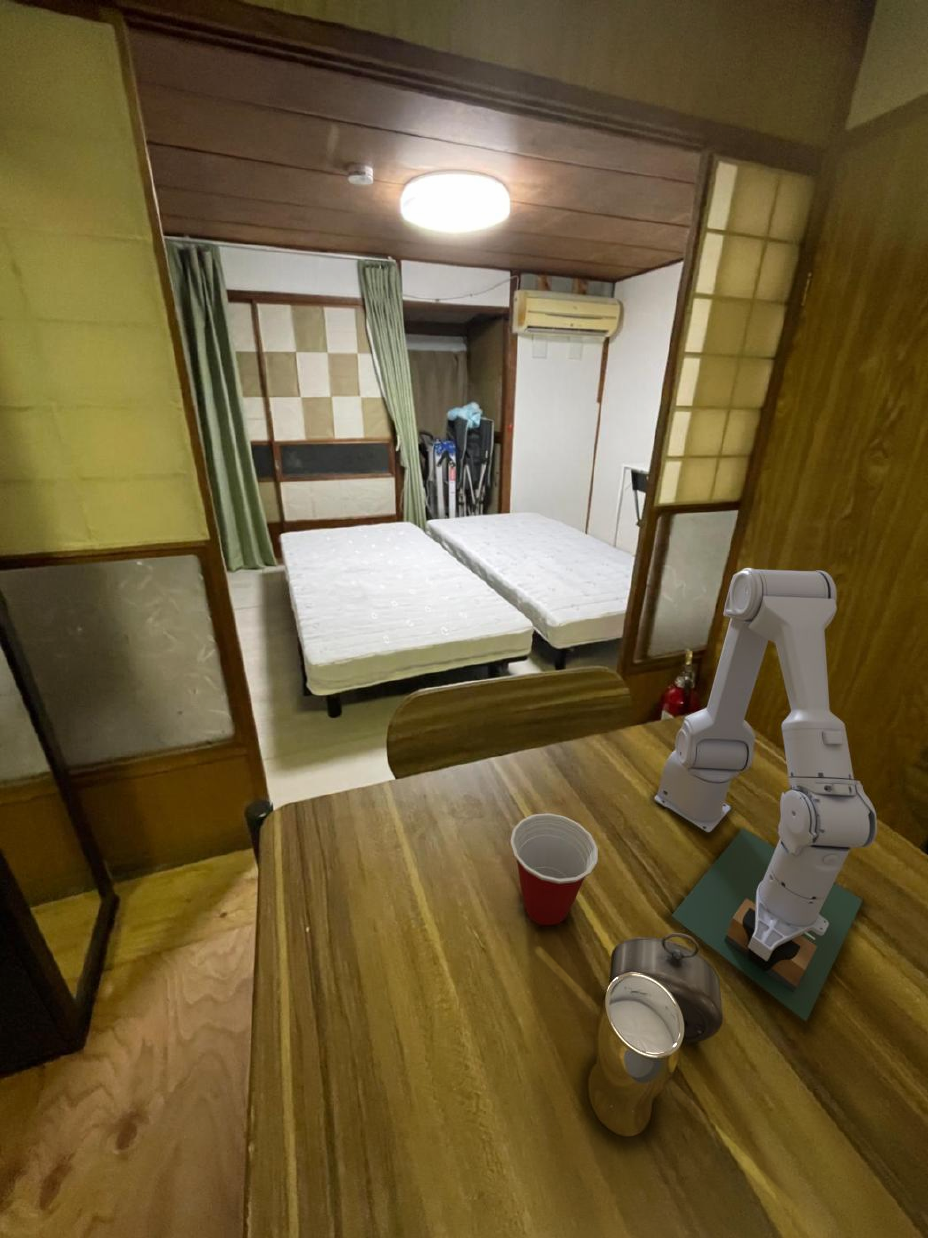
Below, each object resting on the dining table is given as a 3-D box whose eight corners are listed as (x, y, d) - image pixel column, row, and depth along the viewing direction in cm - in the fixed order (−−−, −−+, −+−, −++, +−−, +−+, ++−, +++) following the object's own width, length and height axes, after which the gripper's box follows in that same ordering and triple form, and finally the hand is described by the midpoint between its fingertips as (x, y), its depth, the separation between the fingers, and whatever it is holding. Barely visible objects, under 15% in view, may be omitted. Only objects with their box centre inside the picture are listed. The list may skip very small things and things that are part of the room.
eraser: (723, 940, 64) (732, 917, 62) (737, 920, 67) (746, 897, 65) (793, 993, 59) (805, 970, 57) (805, 969, 61) (817, 946, 59)
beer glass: (574, 1057, 54) (592, 972, 47) (639, 1051, 54) (665, 966, 48) (595, 1147, 48) (619, 1065, 41) (668, 1139, 48) (702, 1056, 41)
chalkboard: (670, 919, 67) (671, 916, 67) (741, 830, 81) (742, 828, 80) (804, 1024, 57) (806, 1021, 56) (861, 903, 70) (863, 900, 70)
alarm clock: (704, 1019, 57) (741, 927, 50) (708, 1076, 52) (749, 984, 45) (603, 983, 60) (625, 892, 53) (599, 1034, 56) (621, 942, 48)
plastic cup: (594, 888, 71) (606, 826, 66) (576, 960, 63) (587, 896, 57) (521, 859, 75) (526, 798, 70) (493, 923, 67) (497, 859, 61)
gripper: (817, 947, 50) (777, 1024, 56) (860, 862, 58) (822, 937, 64) (742, 896, 54) (713, 972, 60) (793, 824, 63) (763, 897, 69)
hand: (765, 951), depth 63 cm, fingers closed on eraser, 4 cm apart
